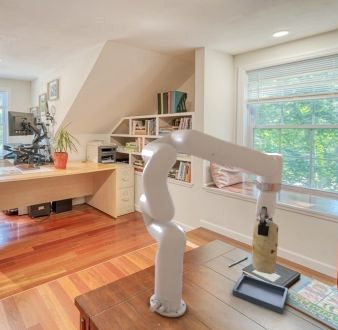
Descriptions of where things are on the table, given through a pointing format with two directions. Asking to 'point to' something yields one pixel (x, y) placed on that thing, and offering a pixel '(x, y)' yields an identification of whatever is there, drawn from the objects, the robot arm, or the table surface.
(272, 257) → the food model
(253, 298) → the serving tray
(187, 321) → the table surface
